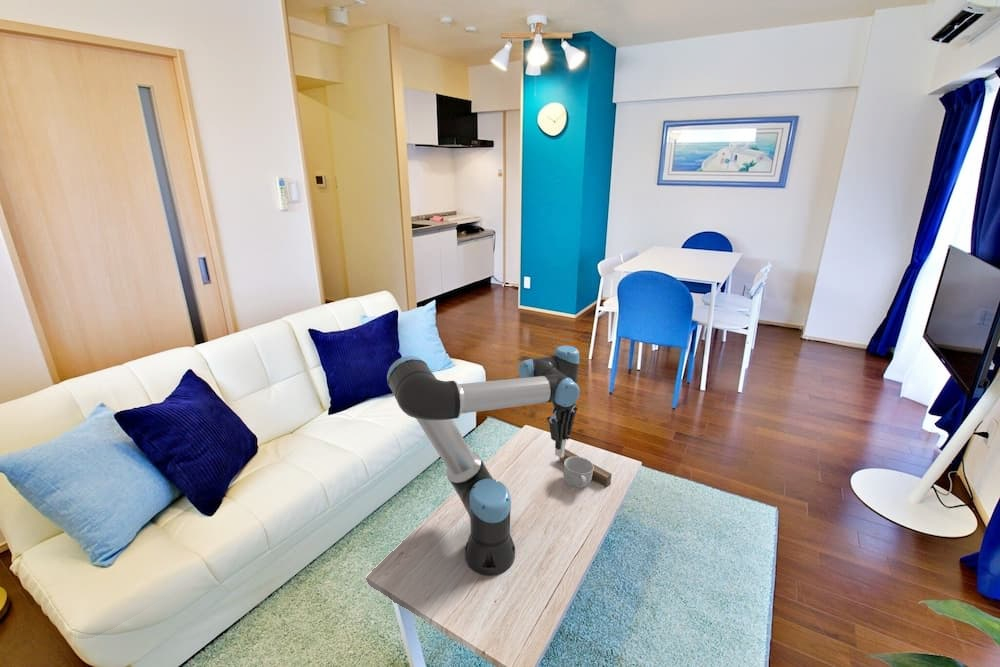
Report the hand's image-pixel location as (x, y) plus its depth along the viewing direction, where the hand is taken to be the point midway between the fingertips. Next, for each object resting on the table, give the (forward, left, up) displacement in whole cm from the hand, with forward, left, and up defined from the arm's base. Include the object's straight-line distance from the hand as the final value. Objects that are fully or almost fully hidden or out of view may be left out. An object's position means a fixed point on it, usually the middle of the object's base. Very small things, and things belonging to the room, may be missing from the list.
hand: (559, 455), depth 158 cm
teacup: (+12, 0, -19) cm, 22 cm away
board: (+20, +3, -18) cm, 27 cm away
